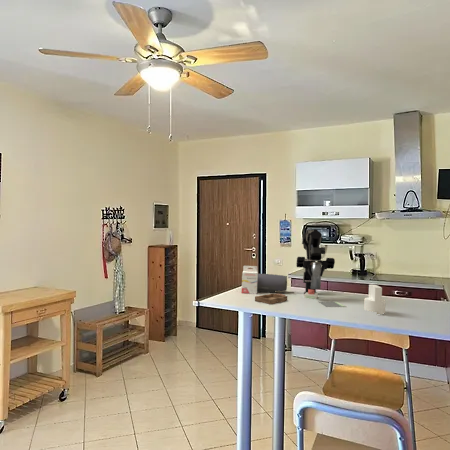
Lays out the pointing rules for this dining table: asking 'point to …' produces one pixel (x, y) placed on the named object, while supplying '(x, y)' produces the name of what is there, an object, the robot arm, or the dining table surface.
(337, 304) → the grey flat panel
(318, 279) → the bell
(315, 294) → the white square base
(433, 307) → the dining table surface
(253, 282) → the ink cartridge box
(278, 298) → the wooden tray
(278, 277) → the bluetooth speaker
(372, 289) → the base with upright slab
